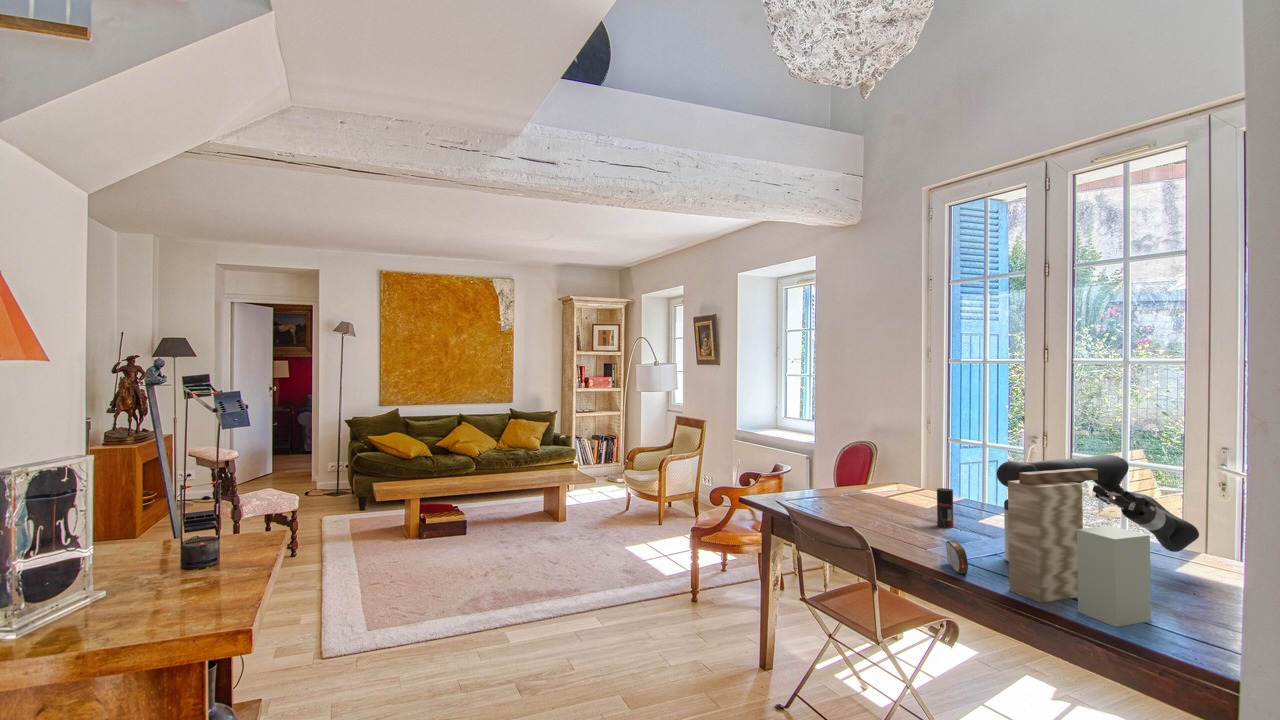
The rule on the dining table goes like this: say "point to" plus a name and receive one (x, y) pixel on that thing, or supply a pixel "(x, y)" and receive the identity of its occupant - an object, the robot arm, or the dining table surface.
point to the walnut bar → (1058, 476)
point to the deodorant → (945, 508)
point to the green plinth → (1114, 575)
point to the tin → (957, 557)
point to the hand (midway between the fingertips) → (1108, 490)
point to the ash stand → (1044, 539)
